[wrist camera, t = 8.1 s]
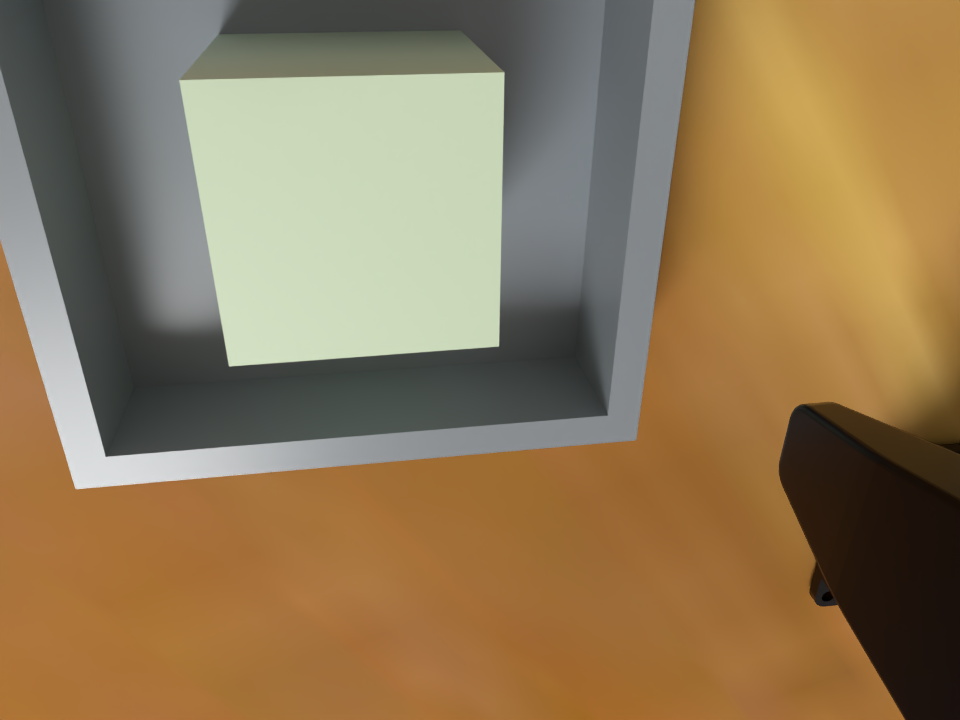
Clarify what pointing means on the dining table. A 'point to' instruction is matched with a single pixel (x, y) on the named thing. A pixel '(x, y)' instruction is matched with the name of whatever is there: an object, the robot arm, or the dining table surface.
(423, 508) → the dining table surface
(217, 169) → the sage cube
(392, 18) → the slate bin
